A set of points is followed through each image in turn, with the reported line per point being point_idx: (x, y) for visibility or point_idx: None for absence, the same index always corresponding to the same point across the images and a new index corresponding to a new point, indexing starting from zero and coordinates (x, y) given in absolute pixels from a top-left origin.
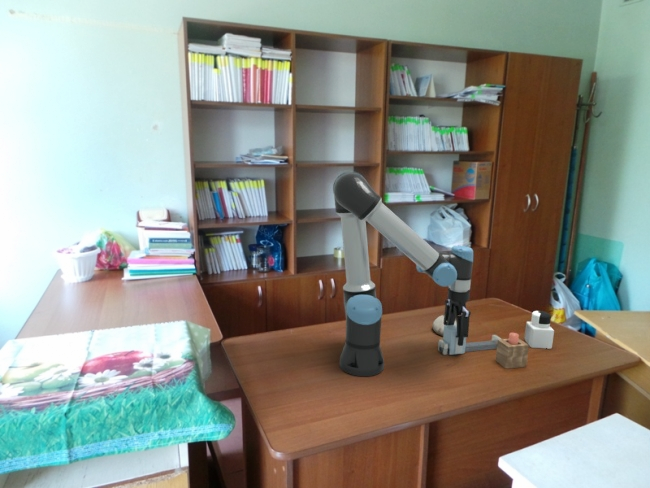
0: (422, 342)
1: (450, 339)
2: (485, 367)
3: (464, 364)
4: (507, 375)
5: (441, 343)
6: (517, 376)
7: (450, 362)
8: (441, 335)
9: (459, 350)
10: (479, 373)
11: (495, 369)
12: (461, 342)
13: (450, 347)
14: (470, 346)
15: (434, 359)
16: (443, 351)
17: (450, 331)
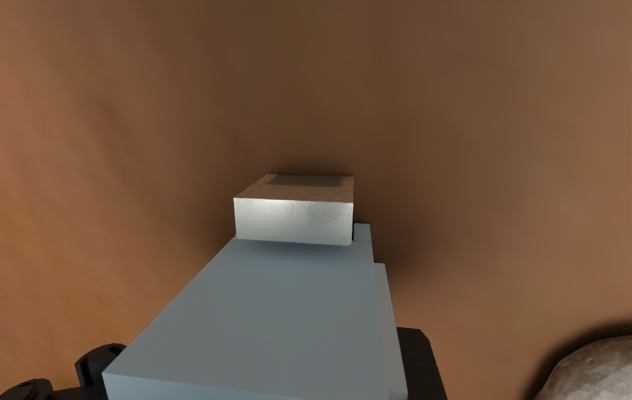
0: (542, 115)
1: (208, 284)
2: (87, 321)
3: (120, 233)
4: (14, 361)
5: (294, 196)
6: None
7: (149, 158)
8: (589, 344)
9: None
10: (19, 250)
11: (68, 351)
12: None
13: (230, 242)
14: None
15: (202, 56)
16: (263, 179)
17: (161, 363)
